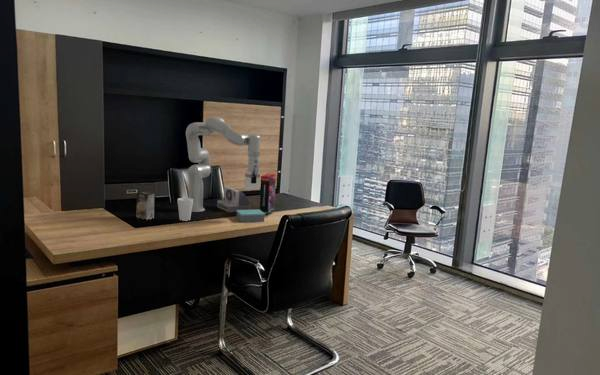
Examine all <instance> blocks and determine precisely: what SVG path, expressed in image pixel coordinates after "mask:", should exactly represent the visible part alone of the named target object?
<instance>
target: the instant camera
mask: <svg viewBox="0 0 600 375" xmlns="http://www.w3.org/2000/svg"><path fill="white" fill-rule="evenodd" d="M222 195H223V196H222V197H223V198H222V199H218V200H217V204H216V205H217V206H216V207H217V208H218V209H220V210H223V211H225V212H227V213H237V212H236V210H251V202H250V200H249V199H248V197H247V195H246V194H244V193H243V190H239V189H237V188H236V189H235V188H232V187H230V186H223V194H222Z"/></svg>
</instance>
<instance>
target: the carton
mask: <svg viewBox="0 0 600 375" xmlns="http://www.w3.org/2000/svg"><path fill="white" fill-rule="evenodd" d="M253 172H255V171H253ZM253 174H254V173H253ZM244 176H245V179H244V189H245V191H257V190H258V191H260V184H261V171H260V170H259V172H258V173H257V177H256V183H251V177H252V172H251V171H249V170H248V169H246V170H245V174H244Z"/></svg>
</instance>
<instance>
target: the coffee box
mask: <svg viewBox="0 0 600 375" xmlns="http://www.w3.org/2000/svg"><path fill="white" fill-rule="evenodd" d="M135 216H136V217H137V218H136V219H140V218H141V220H144V219H146V221H148V219H149V220H153V219H154V218H155V193H154V192H149V191H145V190H143V191H138V192H136V215H135ZM152 218H153V219H152Z"/></svg>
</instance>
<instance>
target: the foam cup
mask: <svg viewBox="0 0 600 375" xmlns="http://www.w3.org/2000/svg"><path fill="white" fill-rule="evenodd" d="M176 201H177V206H178V208H177V209H178V217H179V218H178V219H179V221H181V220H182V222H184V221H185V222H188V220H189V221H191V216H192V212H191V211H192V205H193V199H191V198H189V197H179V198H177V200H176Z"/></svg>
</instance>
